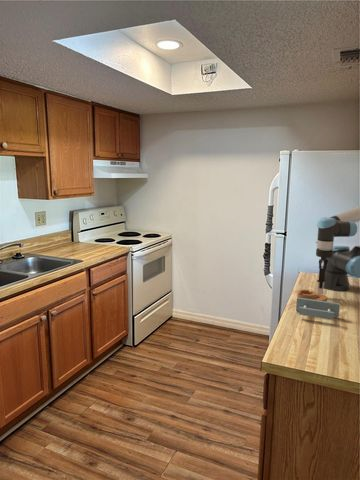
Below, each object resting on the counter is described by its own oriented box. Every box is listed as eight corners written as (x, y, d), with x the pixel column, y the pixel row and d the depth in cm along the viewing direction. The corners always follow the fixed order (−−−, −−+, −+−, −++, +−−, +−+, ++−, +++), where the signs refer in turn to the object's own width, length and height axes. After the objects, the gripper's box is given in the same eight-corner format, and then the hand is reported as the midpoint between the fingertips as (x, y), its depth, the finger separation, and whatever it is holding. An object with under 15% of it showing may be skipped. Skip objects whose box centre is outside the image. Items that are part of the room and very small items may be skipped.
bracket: (308, 310, 168) (309, 296, 166) (293, 305, 174) (294, 291, 173) (330, 302, 178) (331, 289, 177) (315, 297, 185) (316, 284, 183)
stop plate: (296, 309, 167) (297, 297, 166) (338, 316, 160) (339, 303, 158) (293, 316, 159) (294, 303, 158) (338, 324, 152) (339, 310, 150)
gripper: (317, 245, 188) (313, 288, 192) (315, 250, 176) (311, 296, 181) (333, 247, 184) (328, 291, 189) (331, 252, 173) (327, 298, 177)
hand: (320, 293), depth 185 cm, fingers closed
